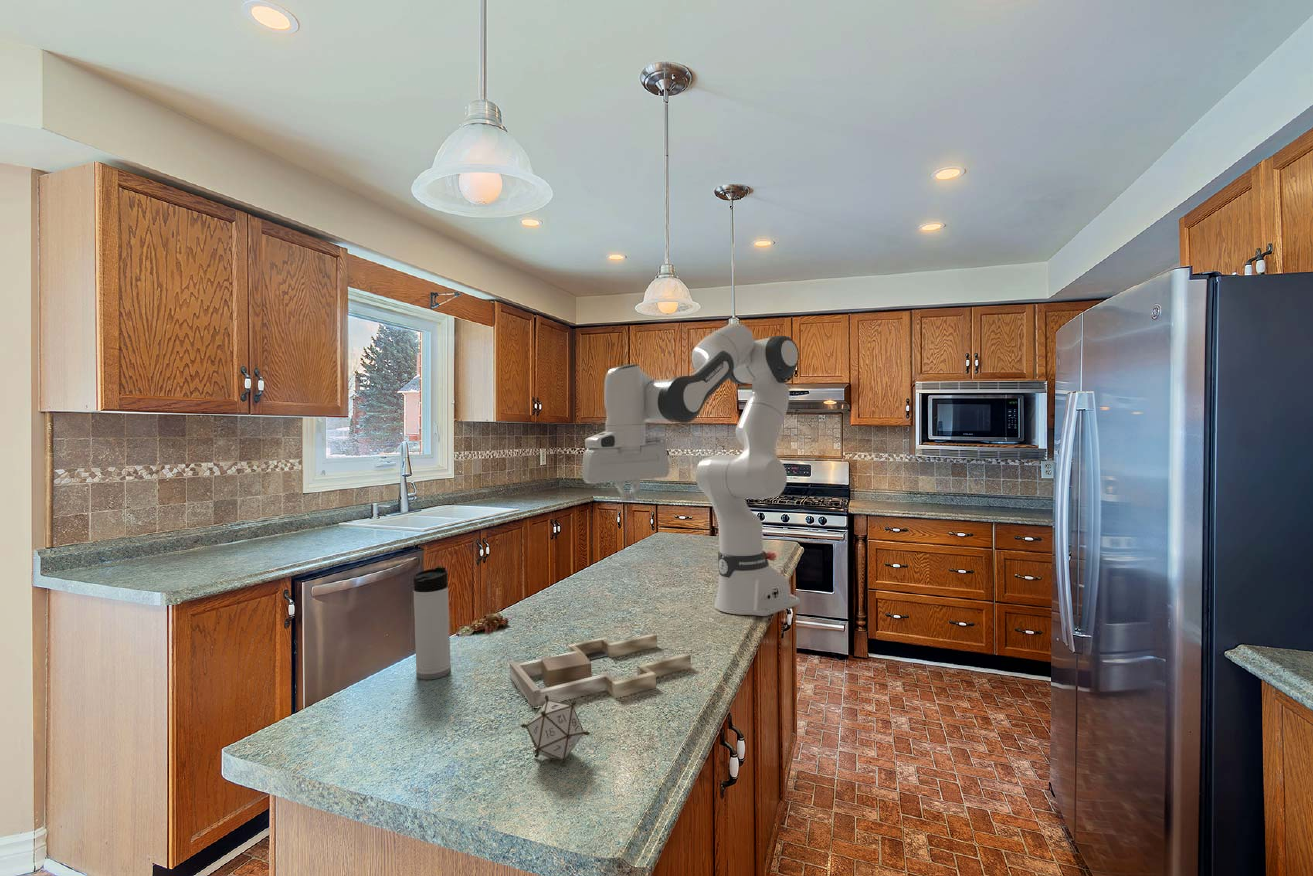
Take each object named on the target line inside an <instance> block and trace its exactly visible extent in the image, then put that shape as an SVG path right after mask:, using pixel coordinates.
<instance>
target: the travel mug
mask: <svg viewBox="0 0 1313 876" xmlns="http://www.w3.org/2000/svg"><path fill="white" fill-rule="evenodd" d="M448 583H449V582H448V570H447V569H446V566H445V567H444V566H437V567H435V568H432V569H431V568H430V569H426V570H425V569H424V570H422V571H420V572H417V573H416V574H415V575H414V576H413V609H414V610H413V612H414V614H413V615H414V640H415V642H414V643H415V647H414V648H415V667H416V668H415V669H416V670H415V671H416V674H415V675H416V677H417V678H418V679H419V680H424V681H425V680H426V681H427V680H428V681H429V680H430V681H431V680H436V679H440V678H443V677H446V676H447V675H449V673H451V670H452V669H451V668H452V664H451V662H452V661H451V636H450V633H451V632H450V609H449V608H450V607H449V605H450V604H449V603H450V600H449V584H448Z"/></svg>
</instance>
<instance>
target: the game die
mask: <svg viewBox="0 0 1313 876" xmlns="http://www.w3.org/2000/svg"><path fill="white" fill-rule="evenodd" d="M545 700H546V702H545V703H544V705H543V706H542V707H541V708H538V709H539V710H538V711H537V712H536V713H535V714H534V716H533V717H532V718H531V719H530V720H529V722H527V724H525V723H523V724H520V727H521V728H522V729H525V728H526V730H527V732H528V735H529V737H530V739H531V742H532V743H533V746H534V748H535V749H534V752H533V753H534V758H535V757H538V758H539V757H540V756H543V757H546V758H547V757H548V758H551V759H555V760H559V761H562V765H563V764H566V763H567V761H566V758H568V756H569V754H570V753H571V752H572V751H573V750H574V748H575V747H576V745H577V744H578V743H579V741H580V739H581V738H582V737H583V736H584V735H585V736H588V735H591V733H590V732H589V731H587V730H586V731H585V730H584V728H583V726H582V723H581V722H580V719H579V717H578V714H577V711H576V709H575V707H574V706H576V704H577V700H573V701H572V703H571V704H568V703H564V702H560V703H559V702H555V701H550V700H548V696H547V695H545ZM566 765H567V764H566Z"/></svg>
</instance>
